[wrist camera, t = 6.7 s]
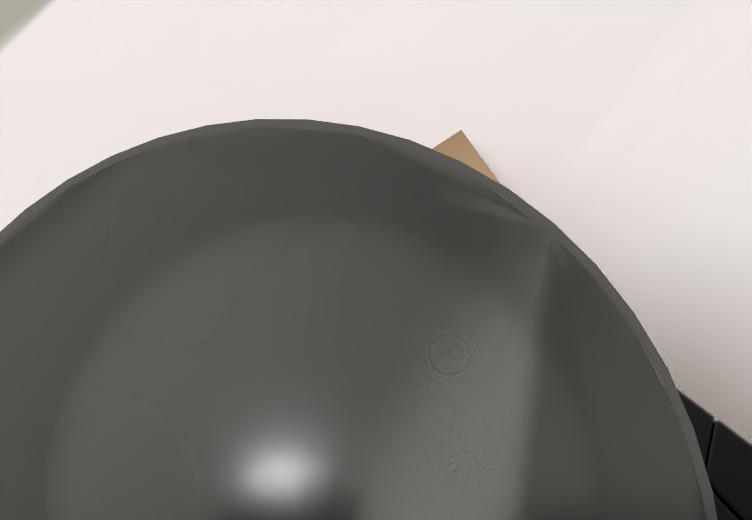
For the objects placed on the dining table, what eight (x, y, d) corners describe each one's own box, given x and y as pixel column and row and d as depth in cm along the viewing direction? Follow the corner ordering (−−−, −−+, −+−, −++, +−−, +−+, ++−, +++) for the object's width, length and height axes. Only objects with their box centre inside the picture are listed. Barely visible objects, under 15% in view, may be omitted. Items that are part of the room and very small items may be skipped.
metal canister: (501, 482, 15) (787, 1184, 2) (325, 479, 16) (-215, 1023, 3) (493, 303, 16) (678, 95, 3) (326, 306, 16) (-100, 141, 4)
